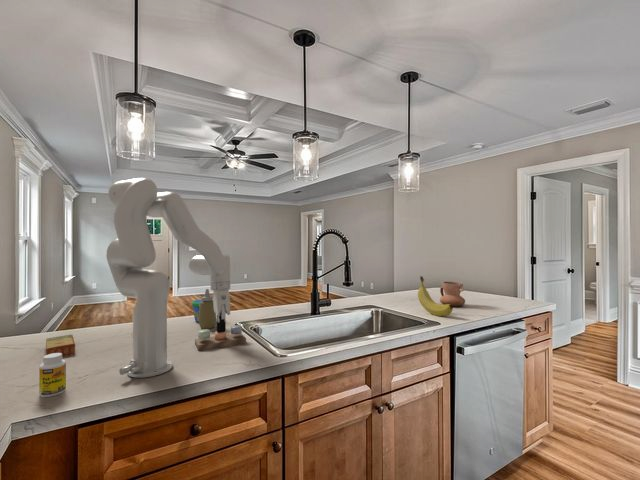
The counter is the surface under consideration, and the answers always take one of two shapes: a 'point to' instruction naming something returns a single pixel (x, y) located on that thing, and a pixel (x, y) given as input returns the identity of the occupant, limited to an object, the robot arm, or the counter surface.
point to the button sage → (203, 334)
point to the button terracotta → (220, 335)
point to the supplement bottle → (52, 375)
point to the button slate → (236, 329)
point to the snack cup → (196, 308)
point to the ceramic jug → (452, 294)
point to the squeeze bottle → (207, 312)
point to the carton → (60, 345)
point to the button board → (220, 342)
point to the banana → (432, 302)
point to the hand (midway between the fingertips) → (221, 331)
